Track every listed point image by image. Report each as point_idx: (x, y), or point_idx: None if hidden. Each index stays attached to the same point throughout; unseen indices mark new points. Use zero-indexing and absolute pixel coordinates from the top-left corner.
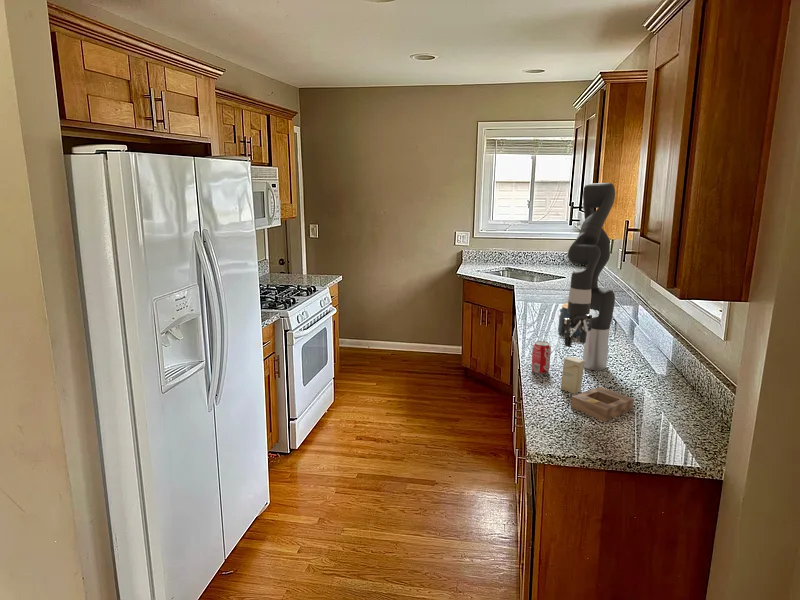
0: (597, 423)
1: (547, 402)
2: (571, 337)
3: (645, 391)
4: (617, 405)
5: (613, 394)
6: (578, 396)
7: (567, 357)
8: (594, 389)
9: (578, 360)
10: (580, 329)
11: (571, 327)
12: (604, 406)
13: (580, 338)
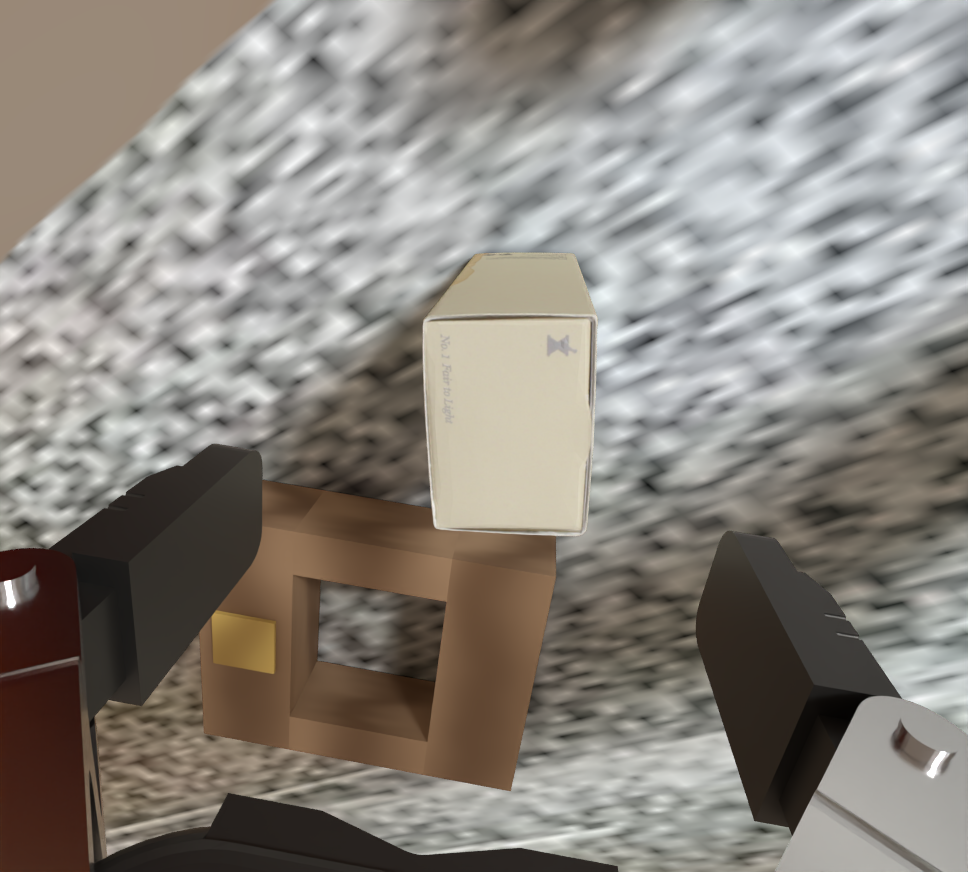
0: (183, 659)
1: (166, 321)
2: (130, 695)
3: (917, 701)
4: (321, 754)
5: (477, 690)
6: None
7: (504, 328)
8: (461, 571)
9: (507, 488)
10: (821, 787)
11: (110, 862)
12: (237, 712)
13: (748, 590)
